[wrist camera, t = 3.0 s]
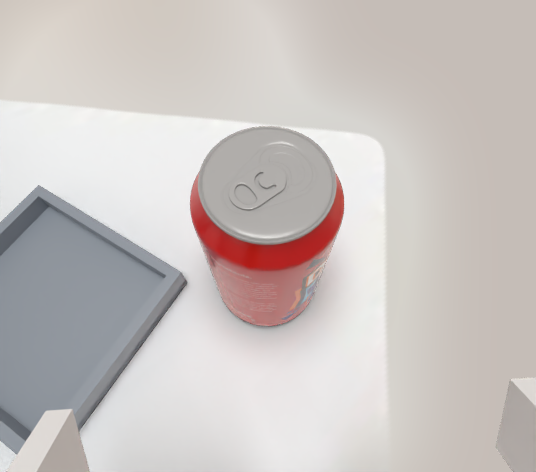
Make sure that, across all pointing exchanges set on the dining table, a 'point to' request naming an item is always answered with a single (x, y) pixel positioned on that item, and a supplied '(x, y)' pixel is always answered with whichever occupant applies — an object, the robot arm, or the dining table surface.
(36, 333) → the tray
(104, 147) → the dining table surface
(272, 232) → the soda can
